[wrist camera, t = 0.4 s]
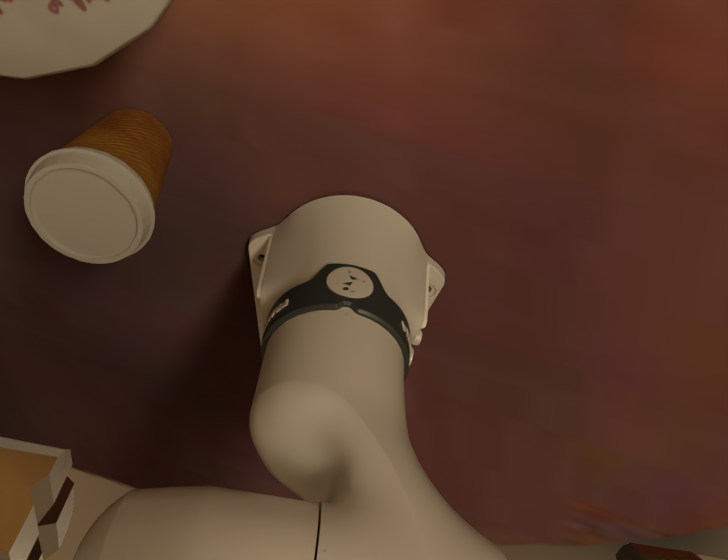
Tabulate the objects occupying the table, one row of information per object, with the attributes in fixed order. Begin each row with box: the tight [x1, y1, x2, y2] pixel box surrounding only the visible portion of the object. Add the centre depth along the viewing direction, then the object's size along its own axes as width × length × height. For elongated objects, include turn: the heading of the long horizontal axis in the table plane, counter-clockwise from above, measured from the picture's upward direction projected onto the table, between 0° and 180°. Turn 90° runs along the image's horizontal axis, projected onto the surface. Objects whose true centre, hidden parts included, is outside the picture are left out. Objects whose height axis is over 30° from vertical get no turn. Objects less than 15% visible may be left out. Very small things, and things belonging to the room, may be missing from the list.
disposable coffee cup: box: [24, 108, 173, 264], centre depth 55 cm, size 10×10×12 cm
